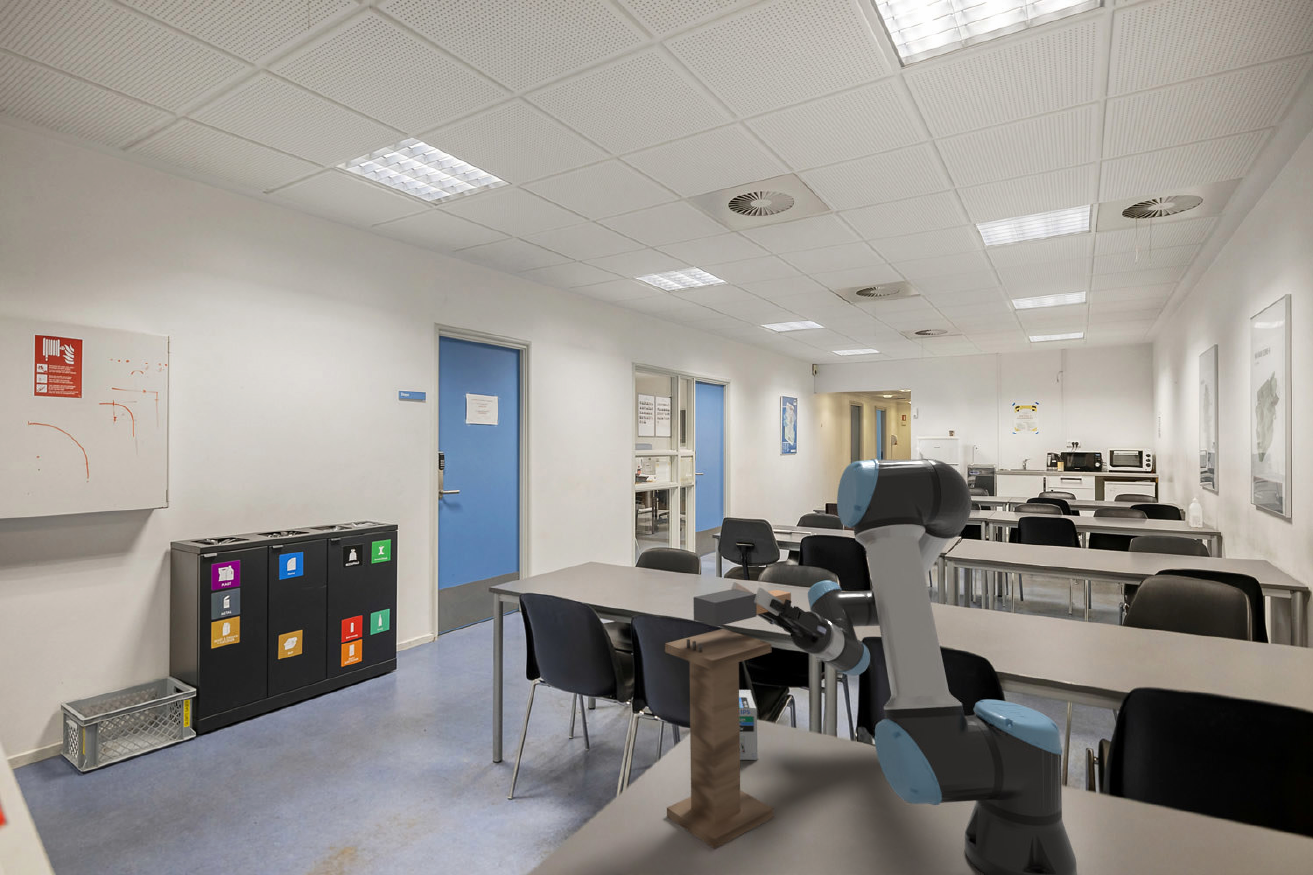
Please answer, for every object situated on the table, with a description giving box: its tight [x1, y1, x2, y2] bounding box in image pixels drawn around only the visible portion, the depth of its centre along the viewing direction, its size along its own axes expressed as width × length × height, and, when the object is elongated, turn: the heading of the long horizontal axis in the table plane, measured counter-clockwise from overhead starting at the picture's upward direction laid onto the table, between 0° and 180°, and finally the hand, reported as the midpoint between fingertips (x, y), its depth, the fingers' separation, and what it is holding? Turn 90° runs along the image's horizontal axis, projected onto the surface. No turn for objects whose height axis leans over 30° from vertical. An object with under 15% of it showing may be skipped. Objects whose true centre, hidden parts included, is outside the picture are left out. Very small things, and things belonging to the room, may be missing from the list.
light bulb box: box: [739, 689, 759, 761], centre depth 141 cm, size 11×7×11 cm, turn 179°
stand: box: [664, 628, 774, 849], centre depth 116 cm, size 12×14×31 cm
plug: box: [693, 589, 792, 628], centre depth 120 cm, size 6×20×4 cm, turn 129°
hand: (745, 592), depth 120 cm, fingers closed on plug, 5 cm apart
